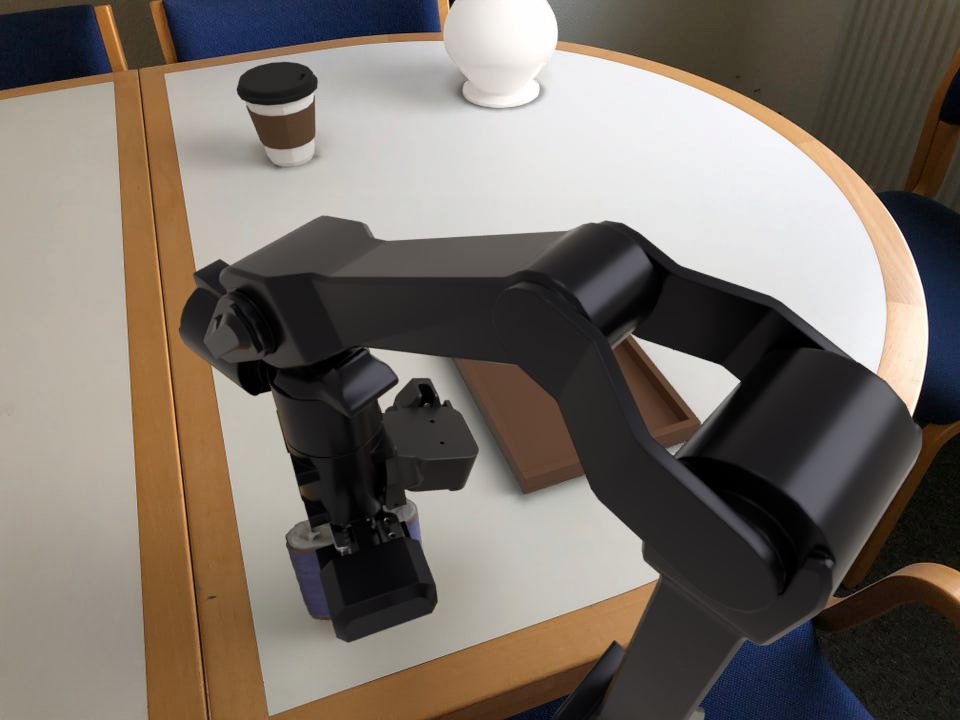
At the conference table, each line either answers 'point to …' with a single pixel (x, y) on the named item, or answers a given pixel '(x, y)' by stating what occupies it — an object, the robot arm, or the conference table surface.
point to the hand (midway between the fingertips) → (365, 567)
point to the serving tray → (540, 425)
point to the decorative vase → (500, 48)
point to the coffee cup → (282, 109)
